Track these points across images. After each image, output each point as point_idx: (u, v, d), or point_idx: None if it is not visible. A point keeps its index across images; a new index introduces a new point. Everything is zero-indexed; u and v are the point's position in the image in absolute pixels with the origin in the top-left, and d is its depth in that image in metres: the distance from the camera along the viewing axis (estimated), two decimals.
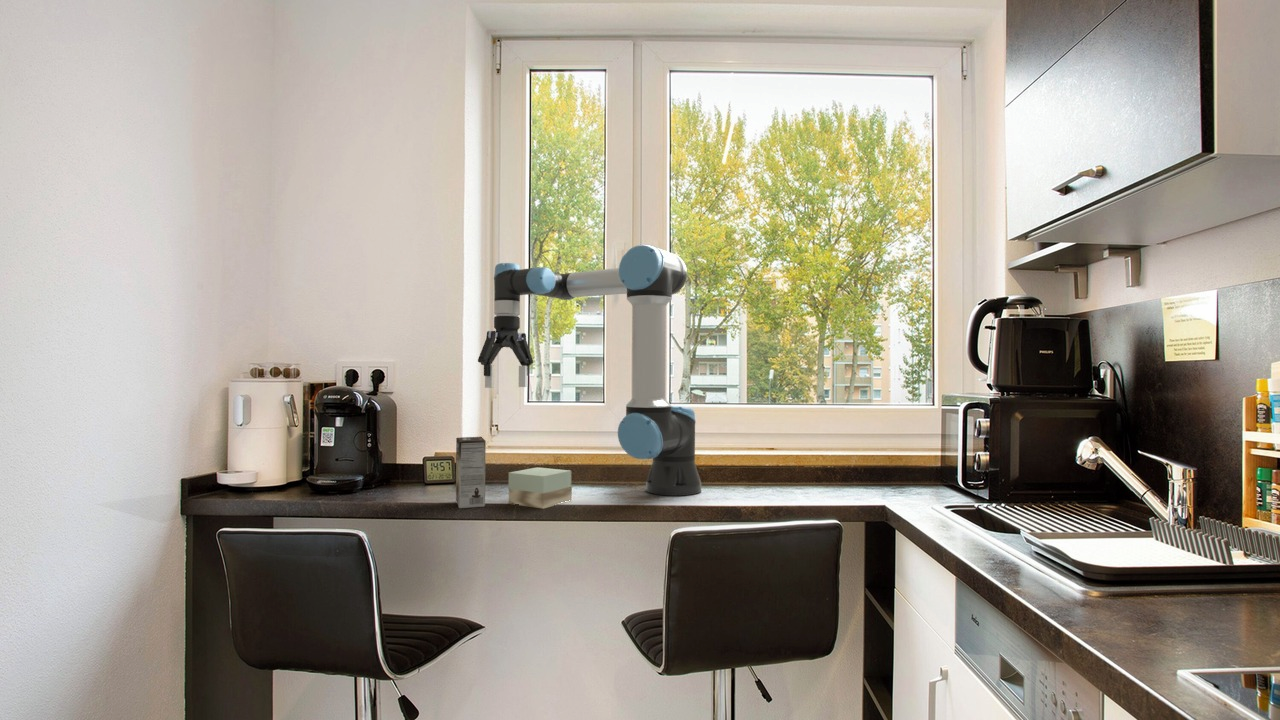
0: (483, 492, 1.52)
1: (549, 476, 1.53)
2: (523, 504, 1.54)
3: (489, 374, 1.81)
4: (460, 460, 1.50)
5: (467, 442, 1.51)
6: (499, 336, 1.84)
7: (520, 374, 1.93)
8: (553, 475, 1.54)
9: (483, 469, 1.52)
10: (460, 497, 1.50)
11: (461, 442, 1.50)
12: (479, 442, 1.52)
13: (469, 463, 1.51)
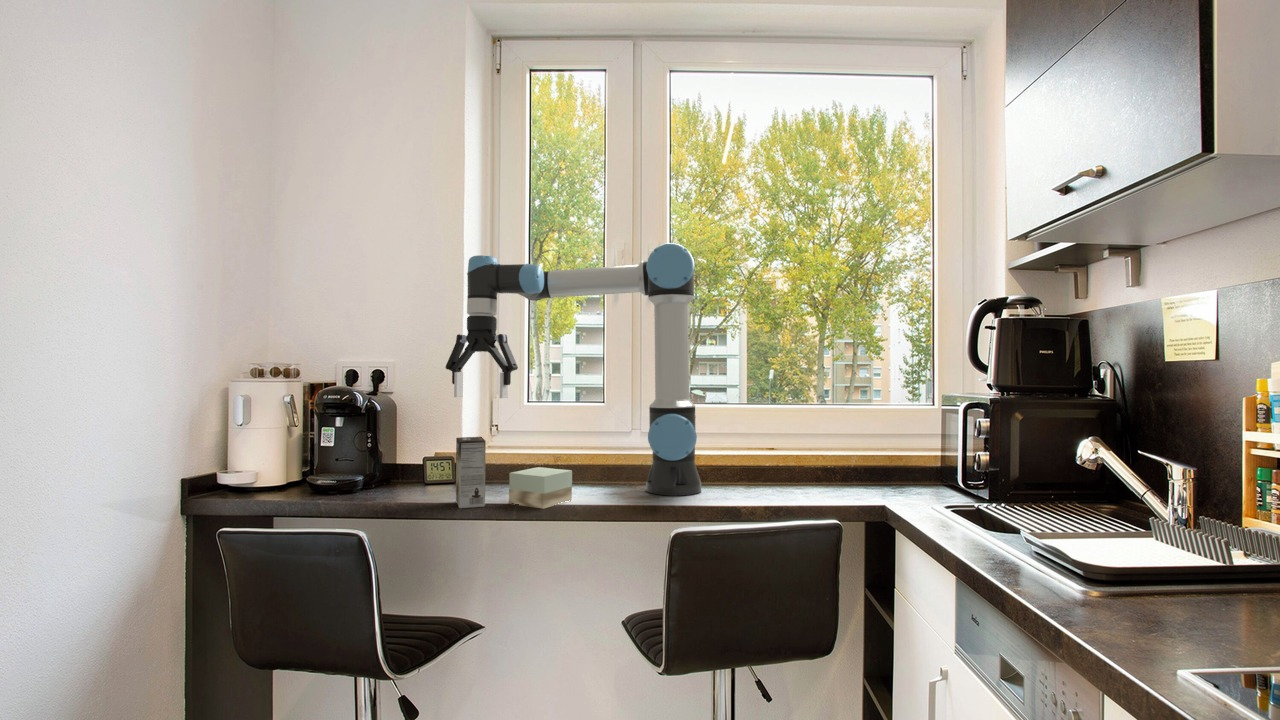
0: (483, 492, 1.52)
1: (550, 476, 1.52)
2: (523, 504, 1.54)
3: None
4: (460, 460, 1.50)
5: (467, 442, 1.51)
6: (466, 340, 1.65)
7: None
8: (554, 475, 1.54)
9: (483, 469, 1.52)
10: (460, 497, 1.50)
11: (461, 442, 1.50)
12: (479, 442, 1.52)
13: (469, 463, 1.51)
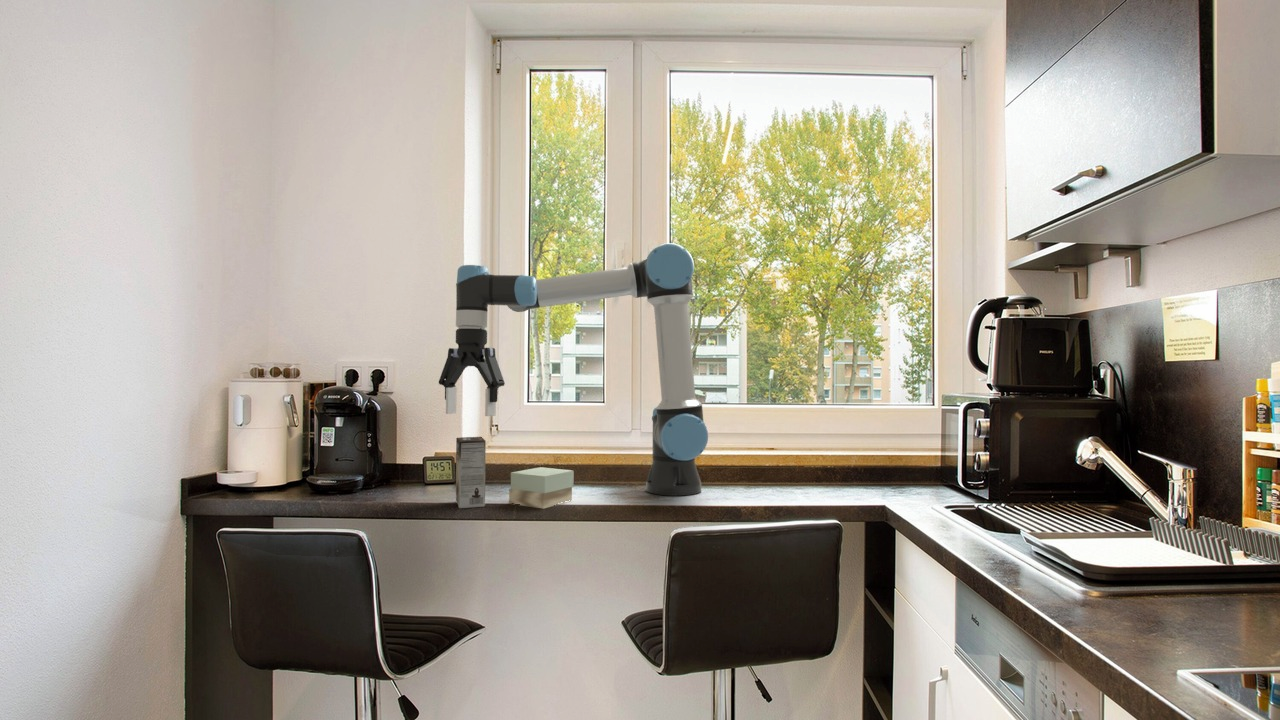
0: (483, 492, 1.52)
1: (551, 476, 1.52)
2: (523, 504, 1.54)
3: None
4: (460, 460, 1.50)
5: (467, 442, 1.51)
6: (457, 354, 1.57)
7: None
8: (555, 475, 1.54)
9: (483, 469, 1.52)
10: (460, 497, 1.50)
11: (461, 442, 1.50)
12: (479, 442, 1.52)
13: (469, 463, 1.51)
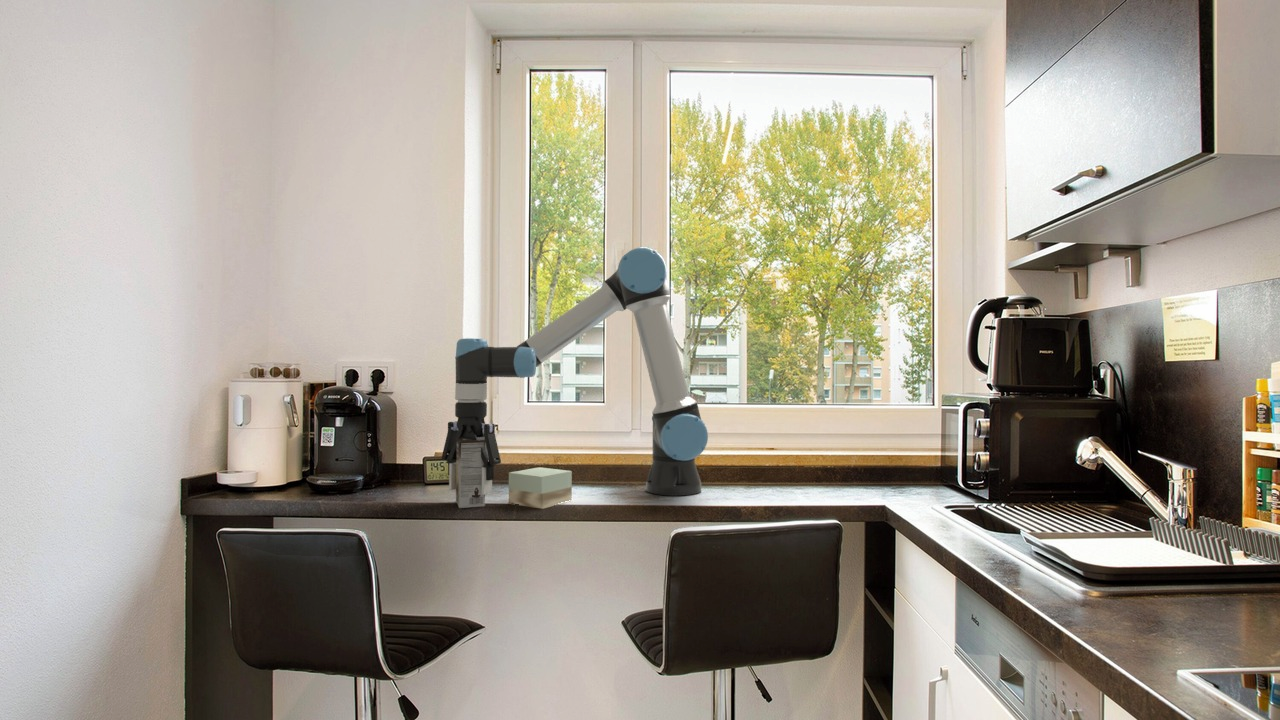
0: None
1: (548, 477, 1.52)
2: (523, 504, 1.54)
3: None
4: (460, 460, 1.50)
5: (467, 442, 1.51)
6: (457, 426, 1.57)
7: None
8: (552, 476, 1.53)
9: None
10: (460, 497, 1.50)
11: (461, 442, 1.50)
12: (479, 442, 1.52)
13: (469, 463, 1.51)
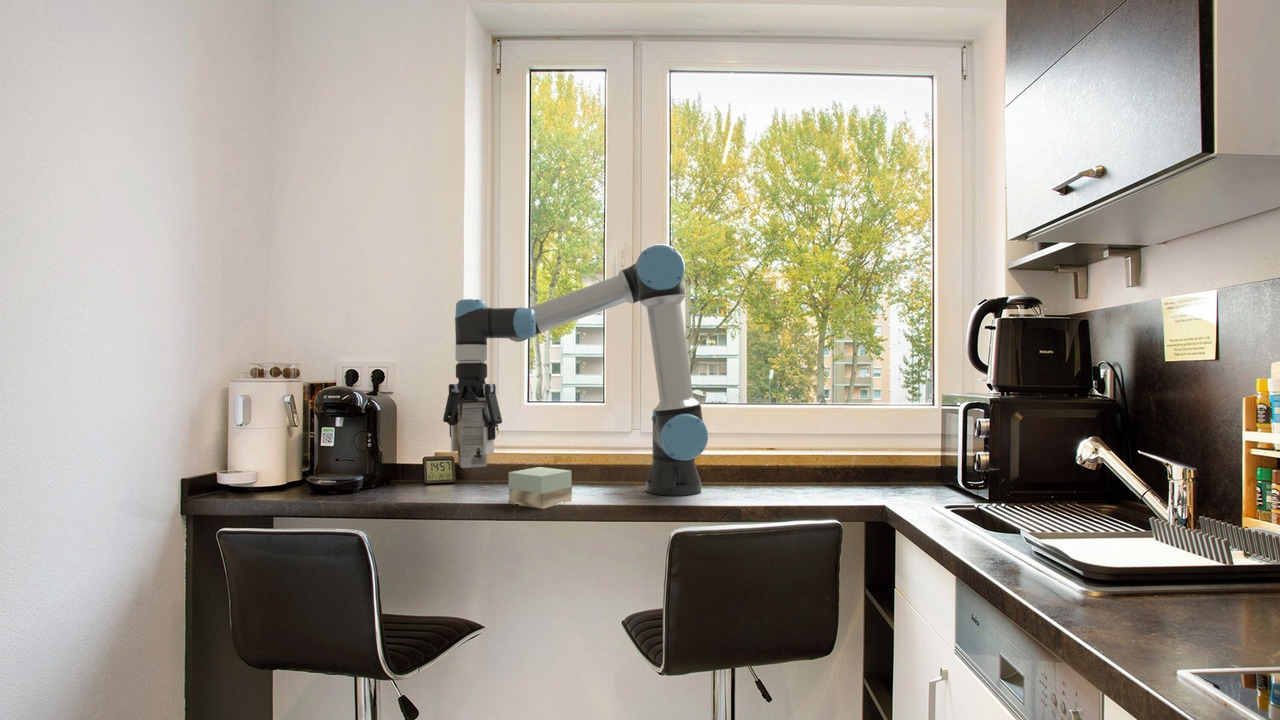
0: None
1: (547, 476, 1.52)
2: (523, 504, 1.53)
3: None
4: (461, 420, 1.50)
5: (468, 402, 1.51)
6: (458, 388, 1.57)
7: None
8: (552, 475, 1.53)
9: None
10: (462, 457, 1.50)
11: (462, 402, 1.51)
12: (480, 402, 1.52)
13: (470, 423, 1.51)
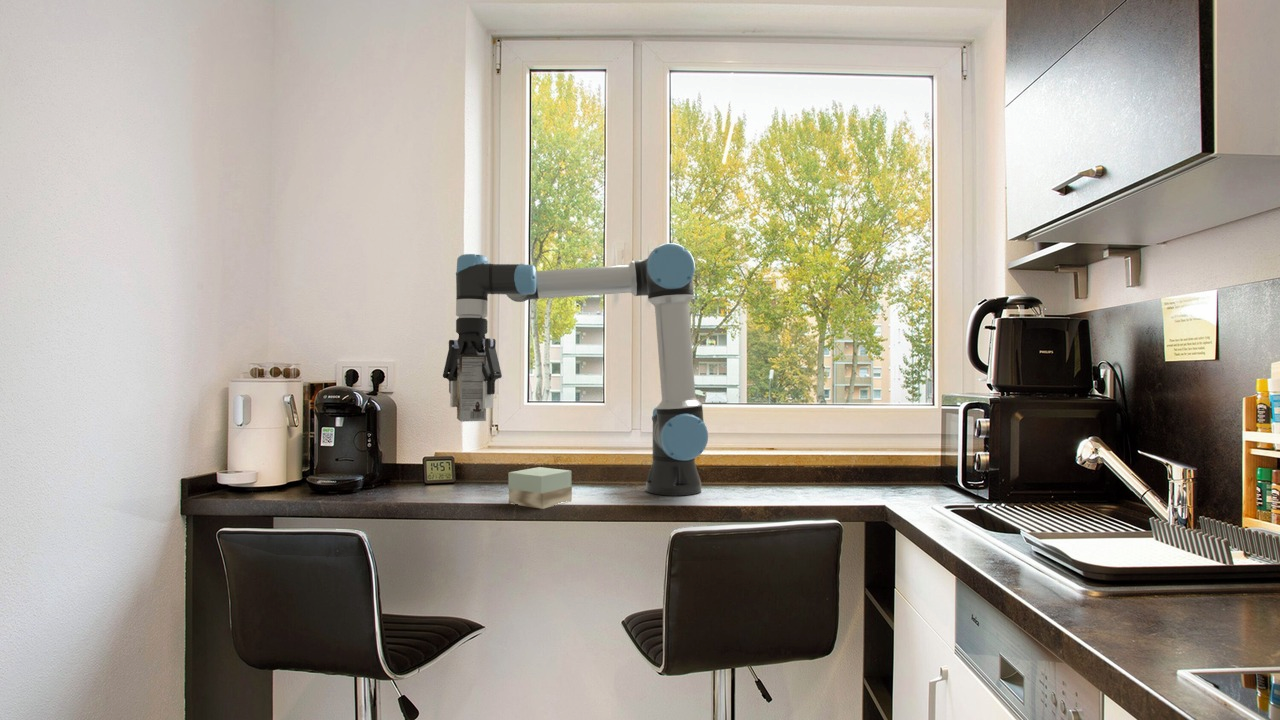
0: None
1: (547, 476, 1.52)
2: (523, 504, 1.53)
3: None
4: (461, 373, 1.51)
5: (468, 356, 1.51)
6: (458, 344, 1.57)
7: None
8: (552, 475, 1.53)
9: None
10: (461, 410, 1.51)
11: (462, 356, 1.51)
12: (480, 356, 1.52)
13: (470, 377, 1.51)
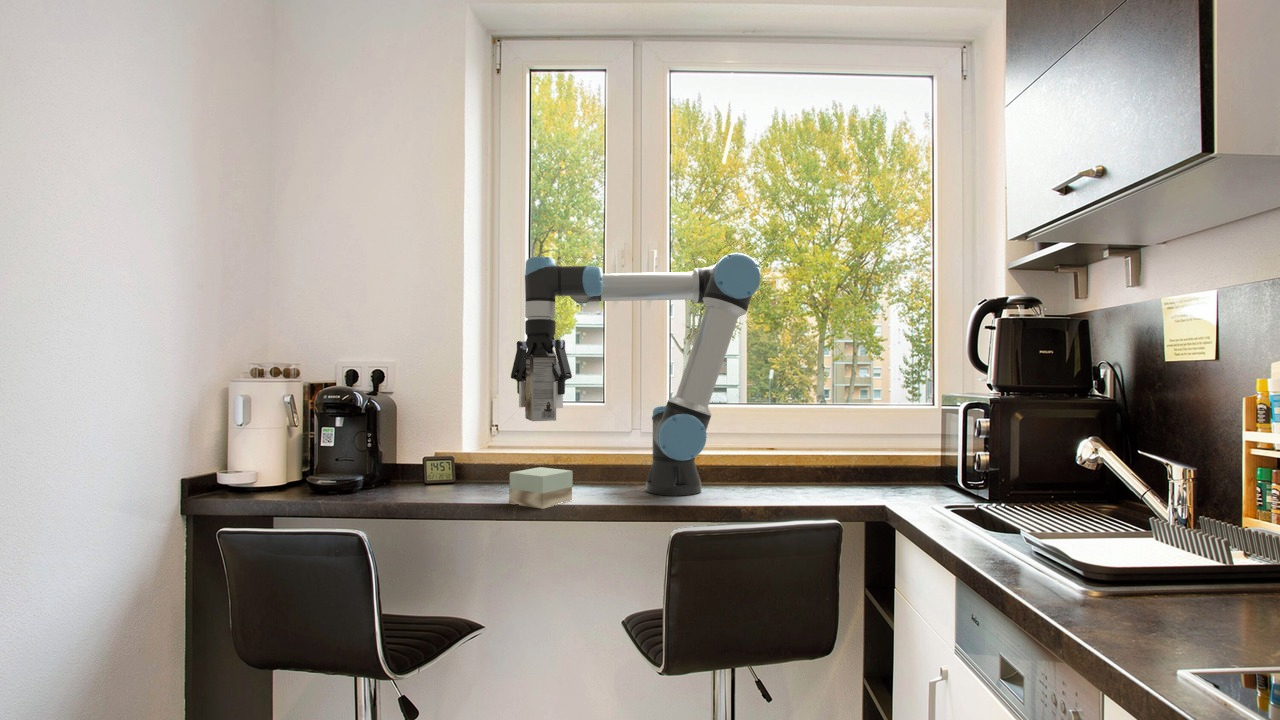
0: None
1: (549, 476, 1.52)
2: (523, 504, 1.53)
3: None
4: (532, 374, 1.53)
5: (539, 357, 1.54)
6: (526, 345, 1.60)
7: None
8: (553, 475, 1.54)
9: None
10: (533, 410, 1.53)
11: (533, 356, 1.53)
12: (550, 357, 1.55)
13: (541, 377, 1.54)
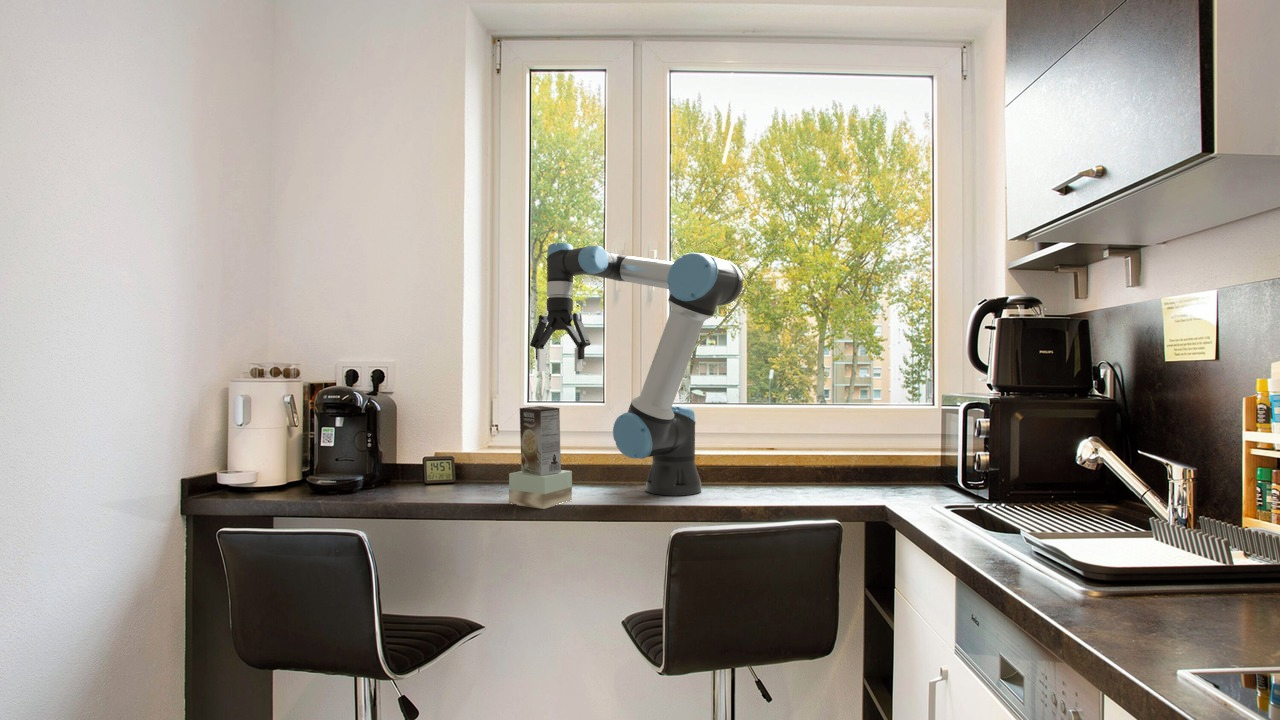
0: (559, 458, 1.56)
1: (550, 477, 1.52)
2: (523, 505, 1.53)
3: None
4: (540, 428, 1.52)
5: (545, 410, 1.53)
6: (547, 319, 1.84)
7: None
8: (554, 476, 1.53)
9: (558, 436, 1.56)
10: (541, 465, 1.52)
11: (540, 410, 1.52)
12: (554, 410, 1.55)
13: (547, 430, 1.53)
